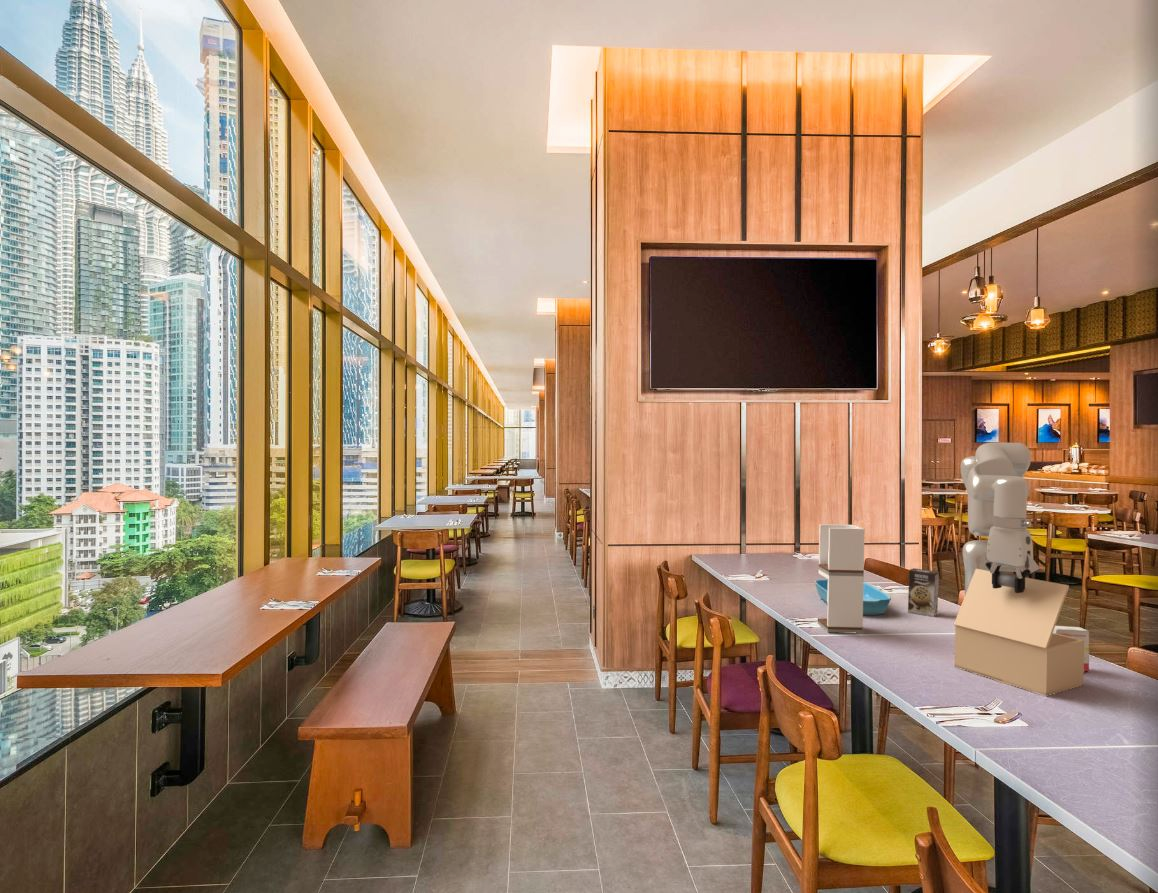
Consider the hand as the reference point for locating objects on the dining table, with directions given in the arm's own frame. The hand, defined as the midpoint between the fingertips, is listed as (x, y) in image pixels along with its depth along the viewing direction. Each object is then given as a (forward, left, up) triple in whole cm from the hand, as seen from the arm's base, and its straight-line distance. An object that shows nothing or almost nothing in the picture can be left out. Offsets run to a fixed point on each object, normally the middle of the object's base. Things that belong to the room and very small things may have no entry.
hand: (1007, 589), depth 182 cm
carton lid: (-1, 0, -5) cm, 5 cm away
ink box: (-25, +3, -25) cm, 35 cm away
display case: (+2, -54, -25) cm, 59 cm away
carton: (-5, 0, -24) cm, 25 cm away
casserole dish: (-29, -75, -25) cm, 84 cm away
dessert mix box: (-44, -55, -25) cm, 75 cm away
